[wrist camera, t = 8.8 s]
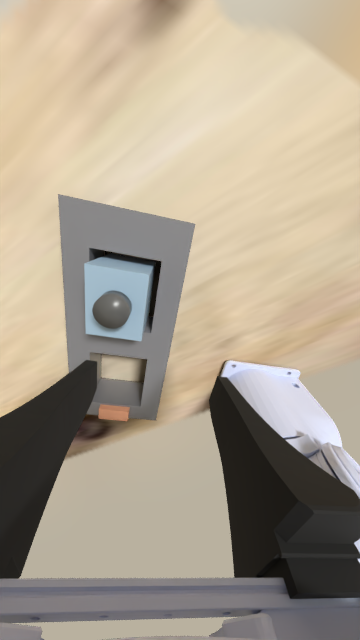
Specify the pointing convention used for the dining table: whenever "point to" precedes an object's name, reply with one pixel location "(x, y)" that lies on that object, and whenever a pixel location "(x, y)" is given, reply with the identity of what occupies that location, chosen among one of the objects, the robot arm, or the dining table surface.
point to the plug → (118, 296)
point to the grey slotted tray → (173, 250)
